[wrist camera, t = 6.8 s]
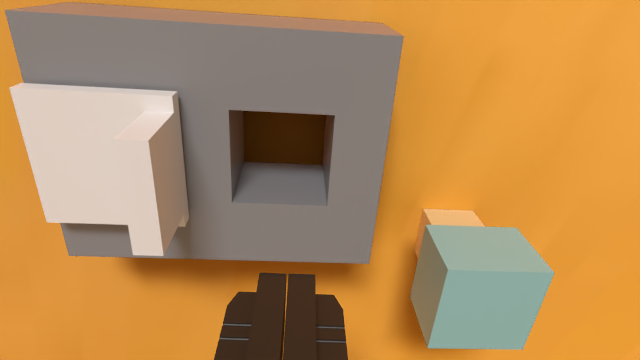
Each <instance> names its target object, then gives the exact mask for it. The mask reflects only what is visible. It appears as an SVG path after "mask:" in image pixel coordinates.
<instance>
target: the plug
mask: <svg viewBox="0 0 640 360" xmlns="http://www.w3.org/2000/svg"><path fill="white" fill-rule="evenodd" d="M414 251H415V253H416V255H417V258H418V262H417V267H416V271H415V276H414V280H413V285H412V289H411V294H410V298H411V301H412V304H413V307H414V310H415V313H416V316H417V319H418V322H419V325H420V328H421V331H422V333H423V336H424V339H425V342H426V345H427V348H445V349H521V350H523V348H524V345H525V343H526V341H527V338H528V336H529V333H530V331H531V328H532V326H533V324H534V321H535V319H536V316H537V314H538V312H539V309H540V307H541V304H542V302H543V299H544V297H545V295H546V292H547V290H548V287H549V285H550V283H551V280H552V278H553V275H554V272H553V270H552V269H551V268H550V267H549V266H548V264H547V263H546V262H545V261H544V260H543V259H542V257H541V256H540V255H539V254H538V253H537V251H536V250H535V249H534V248H533V247H532V246H531V244H530V243H529V242H528V241H527V240H526V238H525V237H524V236H523V235H522V234H521V233H520V231H519V230H518V229H517V228H509V227H485V226H484V225H483V224H482V222H481V221H480V220H479V218H478V217H477V215H476V214H475V213H474V211H469V210H442V209H423V212H422V217H421V222H420V227H419V231H418V236H417V241H416V246H415V250H414Z"/></svg>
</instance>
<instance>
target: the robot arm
mask: <svg viewBox="0 0 640 360" xmlns="http://www.w3.org/2000/svg"><path fill="white" fill-rule="evenodd" d="M285 303H286V274H279V273H260V275H259V280H258V286H257V292H238V293H237V295H236V296H235V297H234V298H233V299H232V301H231V302H230V303H229V304H228V306H227V309H226V313H225V317H224V321H223V326H222V329H221V333H220V339H219V341H218V346H217V350H216V354H215V358H214V360H282V357H283V360H348V356H347V346H346V336H345V330H344V316H343V309H342V307H341V306H340V304H339V303H338V301H337V299H336V298H335V296H334V295H322V294H315V275H309V274H289V277H288V292H287V307H286V321H285ZM284 326H285V336H284ZM283 342H284V351H283Z"/></svg>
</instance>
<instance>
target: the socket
mask: <svg viewBox="0 0 640 360" xmlns="http://www.w3.org/2000/svg"><path fill="white" fill-rule="evenodd" d="M5 13H6V17H7V20H8V24H9V28H10V32H11V36H12V40H13V43H14V47H15V51H16V55H17V59H18V62H19V66H20V70H21V74H22V78H23V82H24V83H32V84H51V85H69V86H88V87H106V88H125V89H144V90H162V91H177V92H178V103H179V114H180V125H181V135H182V146H183V157H184V168H185V179H186V190H187V201H188V211H189V219H188V221H187V224H186V226H185V227H177V229H176V231H175V233H174V236H173V238H172V240H171V242H170V244H169V246H168V248H167V250H166V252H165V254H164V256H144V255H133V252H132V246H131V240H130V235H129V229H128V225H116V224H85V223H61V227H62V231H63V235H64V239H65V242H66V246H67V250H68V254H69V256H98V257H135V258H173V259H210V260H248V261H285V262H322V263H360V264H369V262H370V255H371V248H372V242H373V235H374V228H375V222H376V215H377V209H378V202H379V195H380V189H381V182H382V175H383V169H384V162H385V156H386V149H387V142H388V136H389V129H390V123H391V116H392V109H393V103H394V96H395V89H396V83H397V76H398V70H399V63H400V56H401V50H402V43H403V35H401V34H399V33H398V32H396V31H394V30H393V29H391V28H389V27H388V26H386V25H384V24H383V23H372V22H357V21H342V20H327V19H312V18H297V17H282V16H268V15H253V14H238V13H223V12H208V11H193V10H178V9H163V8H148V7H134V6H119V5H104V4H89V3H74V2H67V3H58V4H50V5H42V6H34V7H26V8H18V9H10V10H5ZM243 111H261V112H281V113H300V114H320V115H326V126H325V139H324V153H323V165H314V164H291V163H268V162H245V161H244V120H243Z"/></svg>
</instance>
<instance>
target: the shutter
mask: <svg viewBox="0 0 640 360" xmlns="http://www.w3.org/2000/svg"><path fill="white" fill-rule="evenodd" d="M10 92H11V95H12V99H13V103H14V106H15V110H16V113H17V117H18V120H19V124H20V128H21V131H22V135H23V138H24V142H25V146H26V149H27V153H28V156H29V160H30V164H31V167H32V171H33V174H34V178H35V181H36V185H37V189H38V192H39V196H40V199H41V203H42V207H43V210H44V214H45V217H46V221H47V222H53V223H85V224H116V225H128V229H129V235H130V240H131V246H132V252H133V255H144V256H164V254H165V252H166V250H167V248H168V246H169V244H170V242H171V240H172V238H173V236H174V233H175V231H176V229H177V227H185V226H186V224H187V221H188V219H189V211H188V201H187V190H186V179H185V168H184V157H183V146H182V135H181V125H180V114H179V103H178V92H177V91H162V90H144V89H125V88H106V87H88V86H69V85H51V84H32V83H20V84H18V85H15V86H12V87H10Z"/></svg>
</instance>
